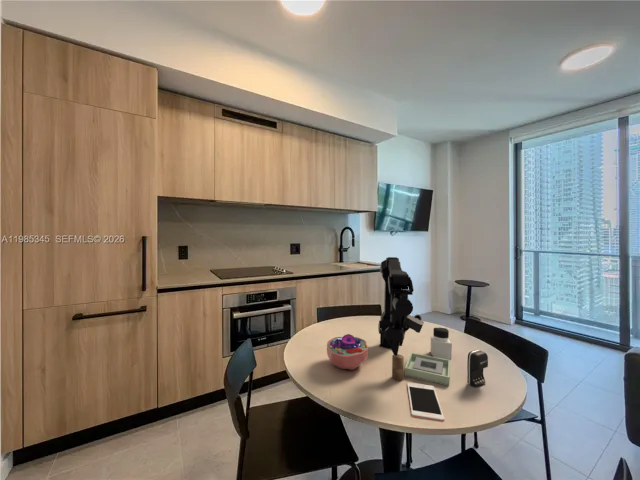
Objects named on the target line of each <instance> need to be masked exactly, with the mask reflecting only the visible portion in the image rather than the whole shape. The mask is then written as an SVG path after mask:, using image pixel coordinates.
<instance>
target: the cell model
mask: <svg viewBox="0 0 640 480" xmlns="http://www.w3.org/2000/svg"><path fill="white" fill-rule="evenodd" d="M369 348H370V347H369V346H368V344H367V341H366V340H365V339H363V338H360V337H359V336H358V337H357V336H354V335H352V334H349V333H348V334H347V333H346V334H344V335H343V336H336V337H333V338H330V339H329V340H327V344H326V354H327V356H328V359H329V360H330V362H331V363H332V364H333V365H334V366H336V368H339V369H342V370H355V369H357V368H358V367H359V366H360V365H361V364H363V363H364V362H365V361H366V360H367V359H368V355H369Z"/></svg>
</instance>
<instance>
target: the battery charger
mask: <svg viewBox="0 0 640 480" xmlns="http://www.w3.org/2000/svg"><path fill="white" fill-rule="evenodd" d="M488 356H489V355H488V354H487V353H486V352H485V351H483V350H480V349H475V350H472V351H470V352H468V355H467V378H466V379H467V381H466V383H467V384H468V385H470V386H472V387H479V386H483V385H485V384H486V379H485V377H484V369H486V368H488V367H489V357H488Z"/></svg>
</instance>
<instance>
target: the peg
mask: <svg viewBox="0 0 640 480" xmlns="http://www.w3.org/2000/svg"><path fill="white" fill-rule="evenodd" d="M391 357H392V359H391V360H392V361H391V370H392V371H391V379H392V380H394V381H397V382H402V381H404V375H405V366H404V365H405V363H404V362H405V357H404V356H403V355H402V354H397V356H395V355H394V354H393V355H392V356H391Z"/></svg>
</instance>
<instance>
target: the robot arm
mask: <svg viewBox="0 0 640 480" xmlns="http://www.w3.org/2000/svg"><path fill="white" fill-rule="evenodd" d="M379 266H380V267H379V269H380V270H379V272H380V274H381V277H382V279H383V280H384V297H383V298H384V299H383V300H384V301H383V304H384V306H383V311H382V313H381V315H380V319H379V320H378V326H377V328H378V329H377V330H378V334H380V335H379V336H380V340H379V344H378V345H379V346H378V347H379V348H380V347H381V348H385V349H390V350H391V352H392V354H393V355H395V356H397V354H398V353H399V350H400V349H399V348H400V347H402V346H403V343H404V340H405V335H406V332H407V331H408V330H409V329H411V330H413V331H414V332H415V333H418V334H419V333H421V331H422V329H423V326H424V323H425V322H424V320H423V319H422V315H420V314H418V313H416V314H415V315H411V314H412V313H413V310H414V306H413V302H412V301H411V300H410V299H409V296H413V293H414V286H413V281H412V278H411V276H409V273H407V272H406V271H404V270H403V269H402V267H401V262H400V259H399V257H397V256H395V257H394V256H388V257H386V258H385V259H384V260H383V261H381V262H380V265H379Z"/></svg>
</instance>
